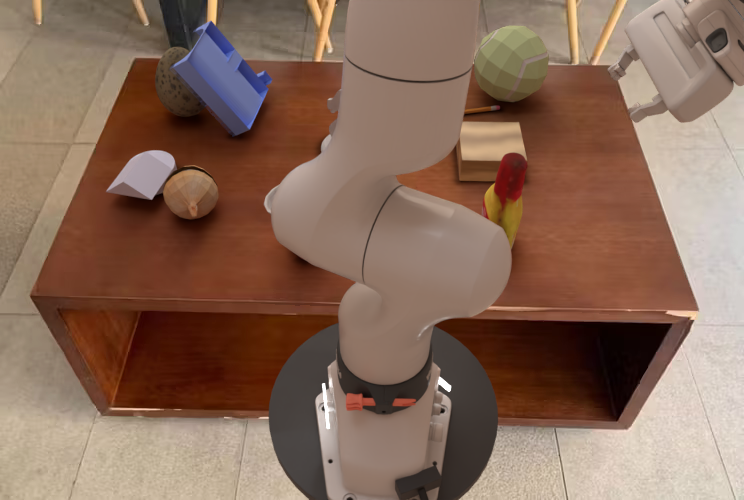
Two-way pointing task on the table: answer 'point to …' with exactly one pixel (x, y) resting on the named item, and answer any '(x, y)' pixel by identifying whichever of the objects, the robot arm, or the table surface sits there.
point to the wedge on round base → (144, 175)
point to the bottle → (507, 195)
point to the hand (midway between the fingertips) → (620, 95)
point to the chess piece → (334, 105)
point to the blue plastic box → (223, 79)
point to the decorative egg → (176, 86)
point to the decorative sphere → (511, 63)
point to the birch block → (486, 148)
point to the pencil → (482, 109)
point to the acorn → (190, 192)
